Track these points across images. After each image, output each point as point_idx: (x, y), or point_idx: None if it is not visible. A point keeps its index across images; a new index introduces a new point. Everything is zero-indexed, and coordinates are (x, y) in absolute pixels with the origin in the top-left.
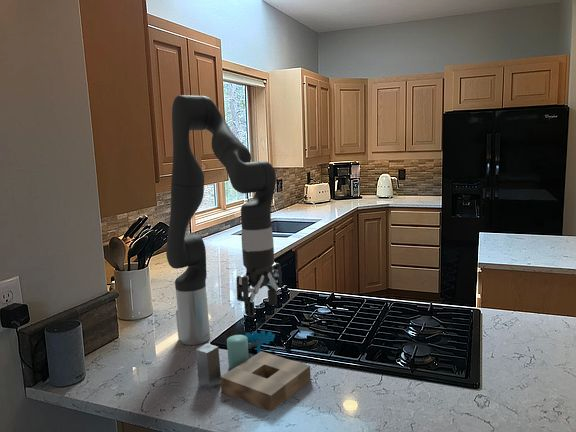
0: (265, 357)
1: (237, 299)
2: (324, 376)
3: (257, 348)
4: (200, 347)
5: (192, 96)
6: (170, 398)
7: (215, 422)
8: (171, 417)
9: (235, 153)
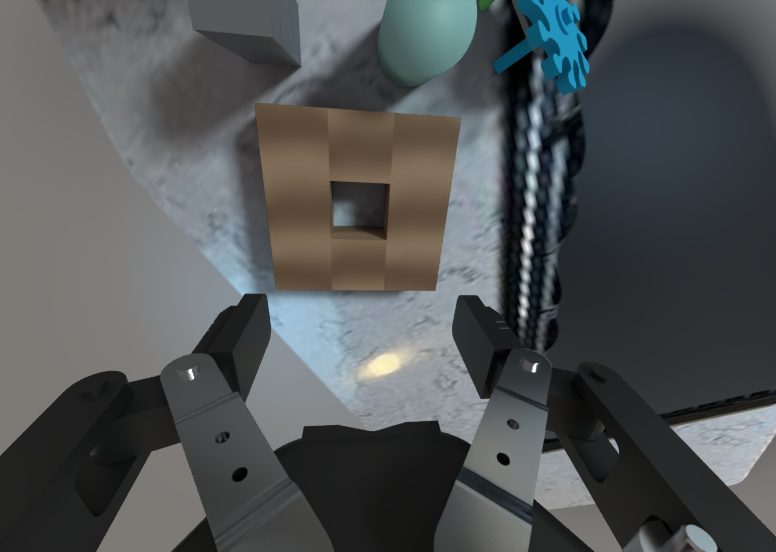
0: (428, 159)
1: (74, 387)
2: (454, 288)
3: (513, 51)
4: None
5: None
6: None
7: (168, 191)
8: (79, 59)
9: None
